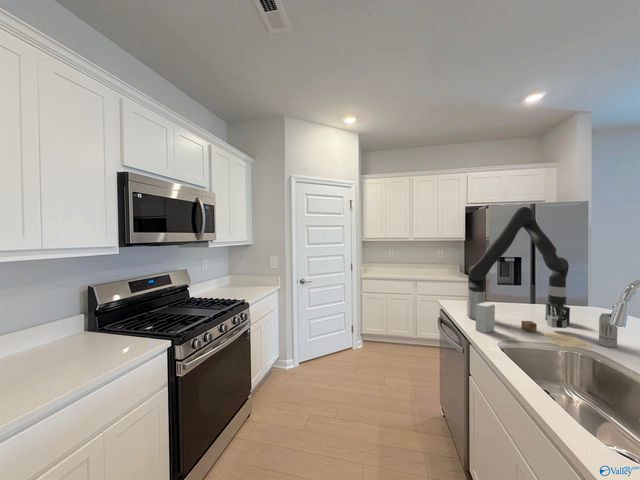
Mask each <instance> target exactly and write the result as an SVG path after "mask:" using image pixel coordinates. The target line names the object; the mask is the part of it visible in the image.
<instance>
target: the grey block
mask: <svg viewBox="0 0 640 480" xmlns="http://www.w3.org/2000/svg"><path fill="white" fill-rule="evenodd" d="M563 318H564V317H563ZM546 321H547V323H546V325H547V326H548V327H550V328H551V329H552V328H555V329H556V328H557V329H559V328H558V327H557V317H556V316H547V320H546ZM567 328H568V325H567V319H566V320H565V321H562V328H561V329H567Z"/></svg>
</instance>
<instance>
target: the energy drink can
mask: <svg viewBox="0 0 640 480" xmlns="http://www.w3.org/2000/svg"><path fill="white" fill-rule="evenodd" d="M610 314H611V313H604V312H603V313H601V314H600V315H599V317H598V319H599V321H598V326H599V327H598V344H600V345H601V346H603V347H605V348H609V349H610V348H611V349H615V348H616V347H618V327H616V326H614V325H611V324H610V323H609V322H608V321H609V317H610Z"/></svg>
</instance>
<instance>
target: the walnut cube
mask: <svg viewBox="0 0 640 480" xmlns="http://www.w3.org/2000/svg"><path fill="white" fill-rule="evenodd" d="M537 327H538V324H537V323H536V322H534V321H532V320H521V330H522V331H524V332H525V333H535V334H536V333H537V330H538V329H537Z"/></svg>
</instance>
